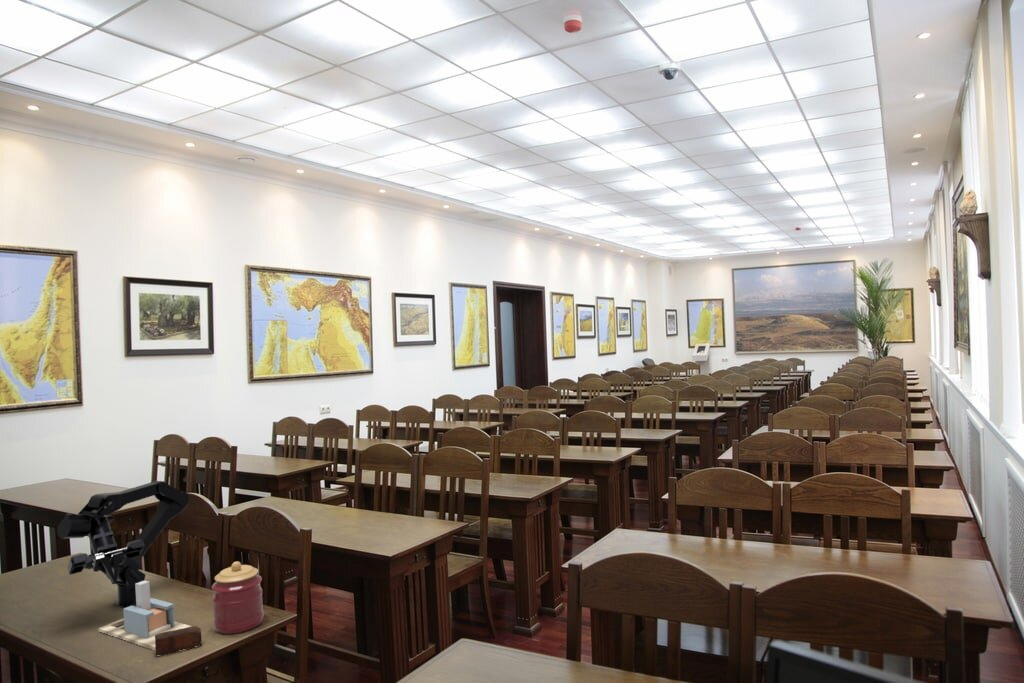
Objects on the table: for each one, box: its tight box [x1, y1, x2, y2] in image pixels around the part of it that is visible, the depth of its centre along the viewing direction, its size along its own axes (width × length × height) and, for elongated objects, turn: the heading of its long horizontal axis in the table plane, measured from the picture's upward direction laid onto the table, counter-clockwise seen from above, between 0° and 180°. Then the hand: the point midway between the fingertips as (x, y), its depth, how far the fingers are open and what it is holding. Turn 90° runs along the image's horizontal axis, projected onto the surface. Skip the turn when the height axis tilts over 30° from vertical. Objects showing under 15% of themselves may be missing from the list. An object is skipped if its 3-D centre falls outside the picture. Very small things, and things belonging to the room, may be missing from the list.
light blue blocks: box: [123, 597, 176, 639], centre depth 181 cm, size 10×8×6 cm
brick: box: [155, 625, 203, 656], centre depth 170 cm, size 11×4×5 cm, turn 119°
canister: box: [211, 561, 265, 635], centre depth 183 cm, size 13×13×18 cm
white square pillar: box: [135, 580, 171, 636], centre depth 181 cm, size 9×6×12 cm, turn 60°
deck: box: [97, 617, 192, 651], centre depth 181 cm, size 27×12×1 cm, turn 60°
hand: (114, 582), depth 187 cm, fingers closed
